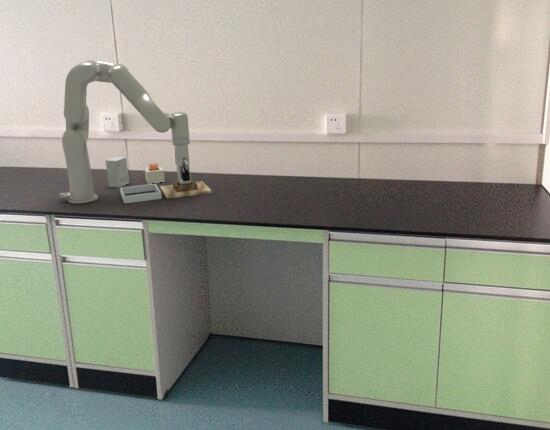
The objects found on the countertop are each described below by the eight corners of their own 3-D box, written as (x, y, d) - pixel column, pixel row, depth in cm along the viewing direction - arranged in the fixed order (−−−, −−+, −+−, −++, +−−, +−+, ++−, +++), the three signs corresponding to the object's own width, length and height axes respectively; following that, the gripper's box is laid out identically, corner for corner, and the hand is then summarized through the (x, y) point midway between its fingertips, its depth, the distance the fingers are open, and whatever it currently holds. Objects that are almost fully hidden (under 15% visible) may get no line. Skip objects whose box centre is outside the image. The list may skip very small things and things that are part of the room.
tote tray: (124, 203, 234) (123, 196, 233) (120, 194, 248) (119, 187, 247) (161, 198, 239) (161, 192, 238) (156, 189, 253) (155, 183, 252)
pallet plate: (166, 198, 239) (166, 190, 238) (160, 188, 255) (159, 181, 254) (211, 193, 245) (211, 185, 244) (202, 183, 261) (201, 176, 260)
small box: (118, 182, 268) (115, 156, 264) (129, 183, 266) (126, 157, 262) (108, 187, 261) (105, 160, 257) (119, 187, 259) (116, 160, 255)
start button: (150, 171, 264) (149, 165, 263) (149, 170, 268) (148, 164, 267) (158, 170, 266) (158, 164, 265) (157, 169, 269) (157, 163, 268)
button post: (148, 184, 264) (146, 172, 262) (145, 180, 271) (144, 168, 269) (164, 182, 266) (163, 170, 264) (162, 178, 273) (160, 166, 271)
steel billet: (180, 190, 247) (178, 168, 244) (178, 187, 251) (176, 166, 248) (191, 188, 248) (189, 167, 245) (189, 186, 253) (187, 165, 250)
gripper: (169, 138, 249) (172, 175, 255) (176, 145, 234) (179, 183, 239) (185, 137, 252) (188, 173, 257) (193, 143, 236) (196, 181, 242)
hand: (184, 178), depth 248 cm, fingers open, 9 cm apart
